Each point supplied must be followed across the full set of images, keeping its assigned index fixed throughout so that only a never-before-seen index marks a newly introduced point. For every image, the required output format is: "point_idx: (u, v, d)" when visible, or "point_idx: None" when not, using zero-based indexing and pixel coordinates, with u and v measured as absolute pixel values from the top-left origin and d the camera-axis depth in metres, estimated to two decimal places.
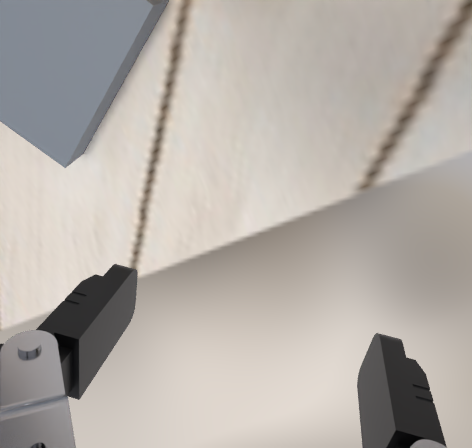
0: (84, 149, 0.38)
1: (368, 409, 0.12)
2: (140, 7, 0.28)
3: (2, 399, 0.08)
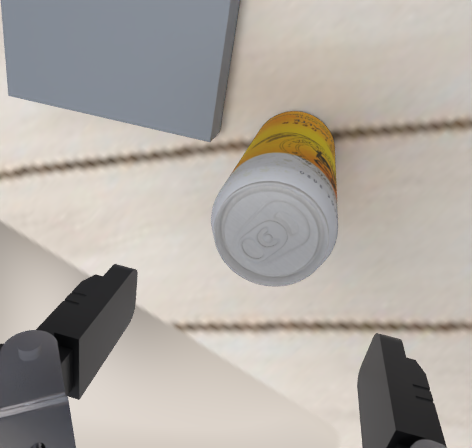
0: None
1: (368, 409, 0.12)
2: (202, 131, 0.30)
3: (2, 399, 0.08)
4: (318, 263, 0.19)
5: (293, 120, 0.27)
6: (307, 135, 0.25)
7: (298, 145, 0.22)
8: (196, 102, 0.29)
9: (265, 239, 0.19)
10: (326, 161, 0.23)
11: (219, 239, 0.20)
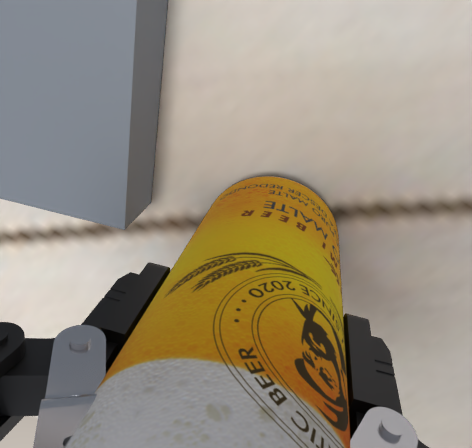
0: None
1: None
2: (110, 212, 0.17)
3: (48, 387, 0.09)
4: None
5: (263, 205, 0.15)
6: (285, 255, 0.12)
7: (259, 310, 0.10)
8: (95, 166, 0.17)
9: None
10: (325, 333, 0.10)
11: None
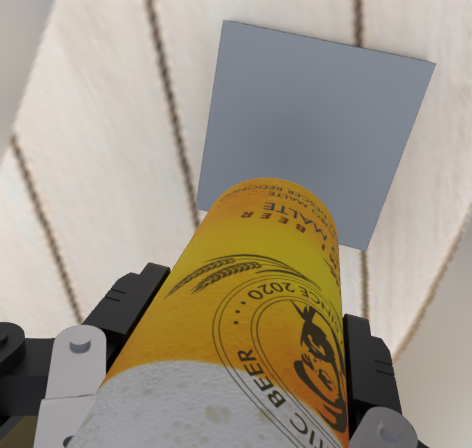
0: None
1: None
2: (202, 203, 0.38)
3: (48, 387, 0.09)
4: None
5: (262, 207, 0.15)
6: (285, 257, 0.12)
7: (258, 312, 0.10)
8: None
9: None
10: (324, 335, 0.10)
11: None
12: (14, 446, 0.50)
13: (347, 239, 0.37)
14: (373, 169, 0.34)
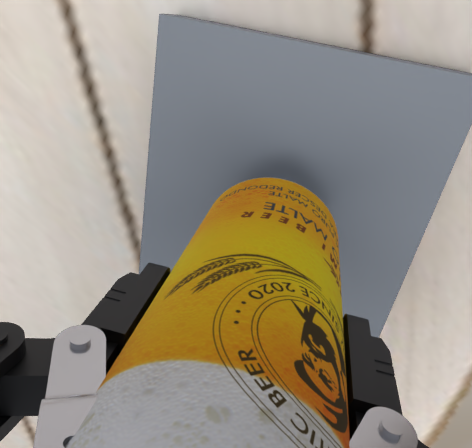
0: None
1: None
2: None
3: (49, 387, 0.09)
4: None
5: (263, 206, 0.15)
6: (285, 256, 0.12)
7: (259, 311, 0.10)
8: None
9: None
10: (324, 335, 0.10)
11: None
12: None
13: None
14: (389, 232, 0.23)
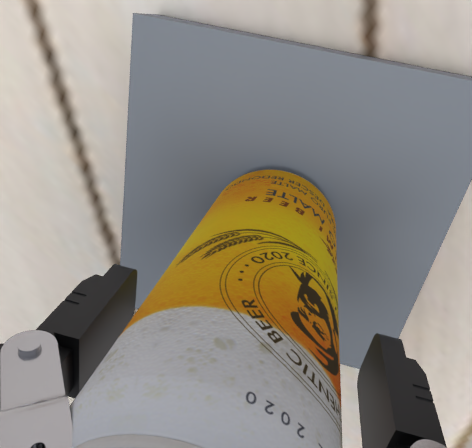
0: None
1: (368, 409, 0.12)
2: None
3: (2, 399, 0.08)
4: None
5: (265, 192, 0.16)
6: (285, 232, 0.13)
7: (260, 273, 0.11)
8: None
9: None
10: (319, 297, 0.11)
11: None
12: None
13: (352, 357, 0.24)
14: (395, 258, 0.21)
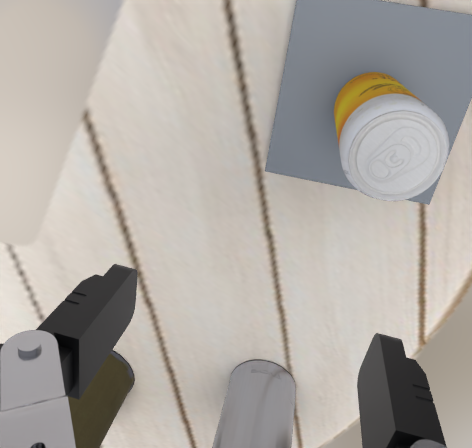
0: None
1: (368, 409, 0.12)
2: (272, 166, 0.41)
3: (2, 399, 0.08)
4: (435, 178, 0.24)
5: (379, 77, 0.32)
6: (400, 85, 0.29)
7: (402, 90, 0.27)
8: (293, 163, 0.40)
9: (392, 160, 0.24)
10: None
11: (352, 163, 0.25)
12: (88, 407, 0.53)
13: None
14: None
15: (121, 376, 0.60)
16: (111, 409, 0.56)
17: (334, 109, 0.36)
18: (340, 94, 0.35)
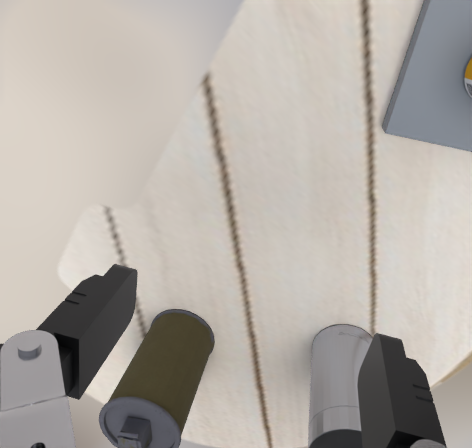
0: None
1: (368, 409, 0.12)
2: (393, 128, 0.44)
3: (2, 399, 0.08)
4: None
5: None
6: None
7: None
8: (414, 125, 0.43)
9: None
10: None
11: None
12: (185, 364, 0.55)
13: None
14: None
15: (206, 339, 0.62)
16: (201, 368, 0.59)
17: (468, 71, 0.39)
18: None
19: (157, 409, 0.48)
